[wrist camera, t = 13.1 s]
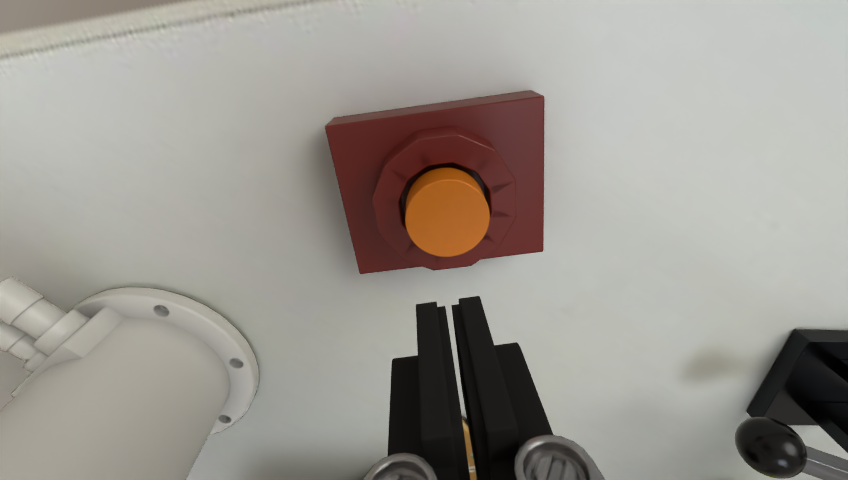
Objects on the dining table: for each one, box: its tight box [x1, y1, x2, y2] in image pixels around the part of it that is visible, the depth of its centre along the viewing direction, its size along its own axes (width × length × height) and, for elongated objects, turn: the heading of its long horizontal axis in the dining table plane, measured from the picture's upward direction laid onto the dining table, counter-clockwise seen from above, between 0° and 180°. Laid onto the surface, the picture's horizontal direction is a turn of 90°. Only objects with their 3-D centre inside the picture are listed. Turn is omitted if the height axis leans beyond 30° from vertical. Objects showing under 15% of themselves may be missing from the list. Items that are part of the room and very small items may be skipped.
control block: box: [325, 90, 544, 274], centre depth 20 cm, size 10×8×4 cm
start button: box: [405, 168, 490, 257], centre depth 18 cm, size 4×4×2 cm
